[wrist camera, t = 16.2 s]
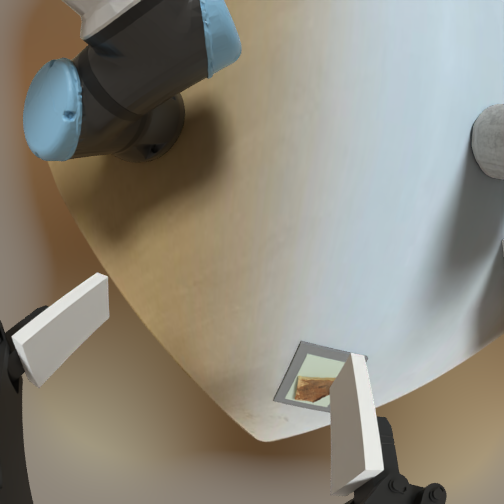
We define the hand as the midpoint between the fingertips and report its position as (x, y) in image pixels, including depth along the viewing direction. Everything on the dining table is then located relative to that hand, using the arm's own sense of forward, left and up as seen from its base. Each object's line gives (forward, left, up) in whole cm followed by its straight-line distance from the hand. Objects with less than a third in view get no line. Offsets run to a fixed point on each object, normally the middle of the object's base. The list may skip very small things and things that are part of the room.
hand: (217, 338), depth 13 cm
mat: (+18, -31, -32) cm, 48 cm away
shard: (+18, -30, -31) cm, 47 cm away
